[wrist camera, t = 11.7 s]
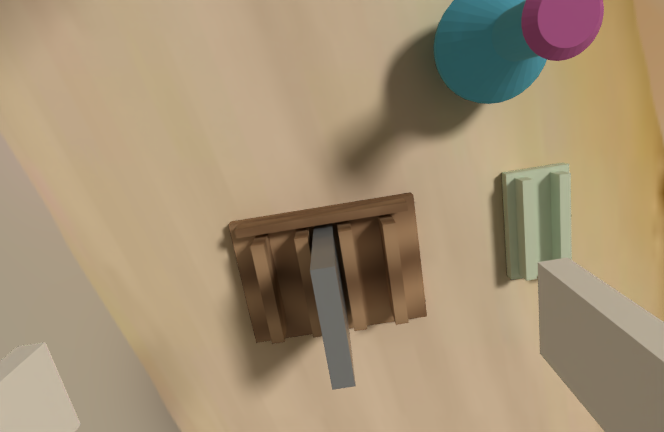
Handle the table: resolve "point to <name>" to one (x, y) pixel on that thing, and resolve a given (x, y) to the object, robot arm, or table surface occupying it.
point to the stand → (536, 217)
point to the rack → (354, 261)
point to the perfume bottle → (509, 43)
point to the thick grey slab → (331, 307)
